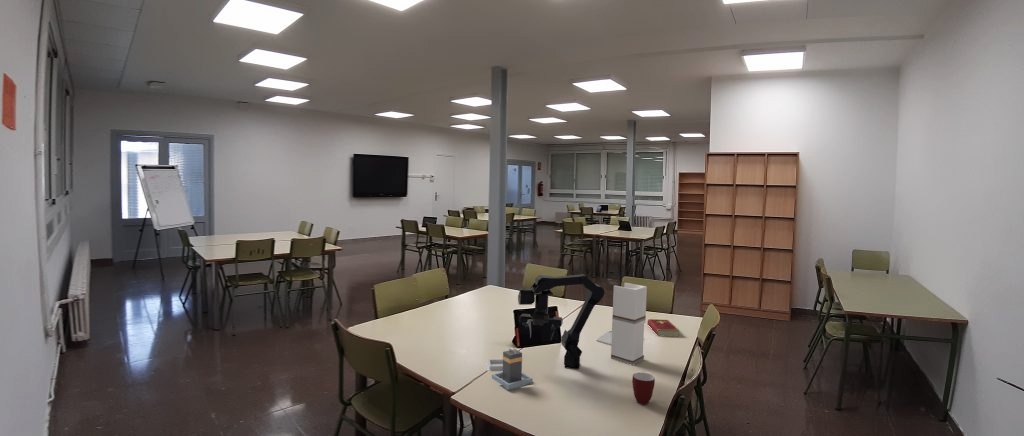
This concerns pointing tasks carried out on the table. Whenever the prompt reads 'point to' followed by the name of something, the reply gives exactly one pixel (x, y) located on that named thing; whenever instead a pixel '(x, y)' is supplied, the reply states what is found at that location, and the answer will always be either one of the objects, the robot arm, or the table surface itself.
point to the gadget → (606, 338)
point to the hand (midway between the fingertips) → (540, 339)
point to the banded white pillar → (628, 323)
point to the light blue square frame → (515, 384)
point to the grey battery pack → (512, 365)
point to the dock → (494, 364)
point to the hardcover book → (663, 327)
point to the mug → (643, 387)
